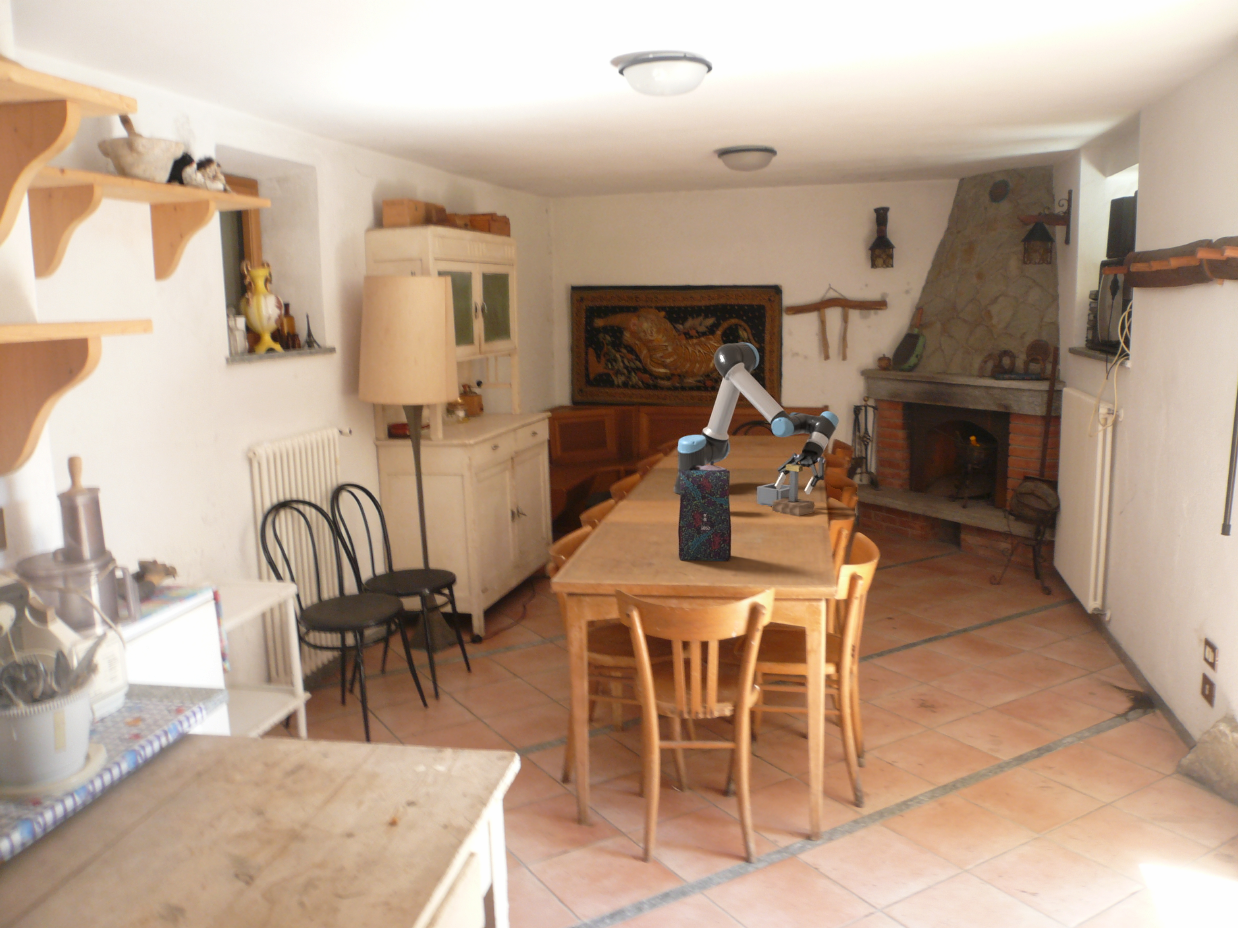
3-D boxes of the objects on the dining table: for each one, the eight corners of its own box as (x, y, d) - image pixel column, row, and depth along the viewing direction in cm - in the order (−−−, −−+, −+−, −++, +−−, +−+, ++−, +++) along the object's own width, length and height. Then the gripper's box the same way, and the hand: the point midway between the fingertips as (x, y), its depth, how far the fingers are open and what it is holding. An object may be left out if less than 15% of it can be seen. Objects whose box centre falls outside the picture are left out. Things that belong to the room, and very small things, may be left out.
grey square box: (756, 504, 379) (756, 487, 378) (773, 499, 387) (773, 482, 386) (779, 508, 371) (780, 490, 370) (797, 504, 379) (797, 486, 378)
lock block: (772, 511, 367) (772, 501, 366) (787, 507, 374) (788, 497, 373) (798, 516, 358) (798, 505, 358) (813, 511, 365) (814, 501, 365)
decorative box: (679, 553, 308) (679, 467, 303) (730, 554, 306) (731, 468, 301) (678, 560, 300) (678, 472, 295) (730, 561, 298) (731, 473, 293)
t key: (784, 510, 367) (785, 464, 364) (788, 509, 369) (789, 463, 366) (797, 513, 363) (798, 466, 360) (801, 512, 365) (802, 465, 362)
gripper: (846, 456, 365) (823, 500, 357) (792, 449, 382) (768, 491, 374) (839, 443, 360) (815, 488, 352) (784, 437, 377) (760, 480, 370)
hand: (791, 490), depth 363 cm, fingers open, 13 cm apart
